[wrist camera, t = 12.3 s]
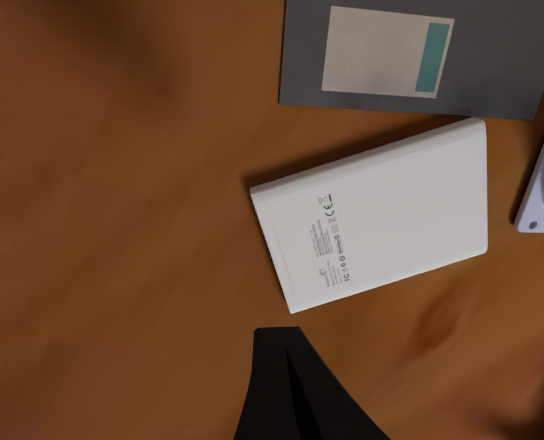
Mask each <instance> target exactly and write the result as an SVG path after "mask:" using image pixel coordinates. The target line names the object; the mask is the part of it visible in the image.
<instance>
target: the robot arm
mask: <svg viewBox="0 0 544 440" xmlns="http://www.w3.org/2000/svg"><path fill="white" fill-rule="evenodd" d="M530 223H531V224H530ZM514 228H515V229H516V230H517V231H519V232H543V233H544V144H543V147H542V150H541V152H540V155H539V158H538V160H537V163H536V166H535V168H534V171H533V174H532V176H531V179H530V182H529V184H528V187H527V190H526V192H525V195H524V198H523V200H522V203H521V206H520V208H519V211H518V214H517V216H516V219H515V222H514ZM233 440H391V439H390V438H389V437H388V436H387V435H386V434H385V433H384V432H383V431H382V430H381V429H380V428H379V427H378V426H377V425H376V424H375V423H374V422H373V421H372V420H371V419H370V417H369V416H368V415H367V414H366V413H365V412H364V411H363V410H362V409H361V407H360V406H359V405H358V404H357V403H356V402H355V400H354V399H353V398H352V397H351V396H350V395H349V393H348V392H347V391H346V390H345V389H344V387H343V386H342V385H341V384H340V382H339V381H338V380H337V378H336V377H335V376H334V375H333V373H332V372H331V371H330V370H329V368H328V367H327V366H326V364H325V363H324V361H323V360H322V359H321V357H320V356H319V355H318V353H317V352H316V350H315V349H314V347H313V346H312V345H311V343H310V342H309V340H308V339H307V337H306V336H305V334H304V333H303V331H302V330H301V329H300V328H299V327H268V328H257V329H256V330H255V331H254V340H253V357H252V372H251V377H250V382H249V387H248V391H247V395H246V399H245V402H244V406H243V410H242V413H241V417H240V420H239V424H238V427H237V430H236V433H235V436H234V439H233Z"/></svg>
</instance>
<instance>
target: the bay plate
mask: <svg viewBox="0 0 544 440" xmlns="http://www.w3.org/2000/svg"><path fill="white" fill-rule="evenodd" d="M543 93H544V0H286V13H285V26H284V40H283V54H282V68H281V82H280V96H279V104H286V105H302V106H318V107H333V108H349V109H365V110H381V111H397V112H413V113H429V114H445V115H461V116H477V117H493V118H509V119H524V120H534V118H535V115H536V112H537V109H538V107H539V104H540V101H541V98H542V95H543Z"/></svg>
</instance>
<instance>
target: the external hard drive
mask: <svg viewBox="0 0 544 440" xmlns="http://www.w3.org/2000/svg"><path fill="white" fill-rule="evenodd" d="M486 138H487V137H486V127H485V122H484V121H483V120H480V119H475V118H467V119H464V120H461V121H458V122H455V123H452V124H448V125H445V126H442V127H439V128H436V129H433V130H430V131H427V132H424V133H421V134H417V135H414V136H411V137H408V138H405V139H402V140H399V141H396V142H393V143H389V144H386V145H383V146H380V147H377V148H374V149H371V150H367V151H364V152H361V153H358V154H355V155H352V156H348V157H346V158H342V159H339V160H336V161H333V162H330V163H327V164H323V165H320V166H317V167H314V168H311V169H308V170H305V171H302V172H299V173H296V174H292V175H289V176H286V177H283V178H280V179H277V180H274V181H271V182H267V183H264V184H261V185H258V186H254V187H252V188H250V195H251V198H252V201H253V204H254V207H255V210H256V213H257V216H258V219H259V222H260V225H261V228H262V230H263V233H264V236H265V239H266V242H267V245H268V248H269V251H270V254H271V257H272V260H273V263H274V266H275V269H276V272H277V275H278V278H279V281H280V284H281V287H282V290H283V293H284V296H285V299H286V302H287V305H288V308H289V311H290V313H291V314H292V313H295V312H299V311H302V310H305V309H308V308H311V307H314V306H317V305H321V304H324V303H327V302H330V301H333V300H337V299H340V298H343V297H347V296H350V295H353V294H356V293H359V292H362V291H366V290H369V289H372V288H375V287H378V286H382V285H385V284H388V283H391V282H394V281H397V280H401V279H404V278H407V277H410V276H413V275H417V274H420V273H423V272H427V271H430V270H433V269H436V268H439V267H442V266H445V265H448V264H451V263H455V262H458V261H461V260H464V259H467V258H470V257H473V256H476V255H480V254H483V253H485V252H486V251H487V246H488V240H487V234H488V233H487V144H486Z"/></svg>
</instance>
